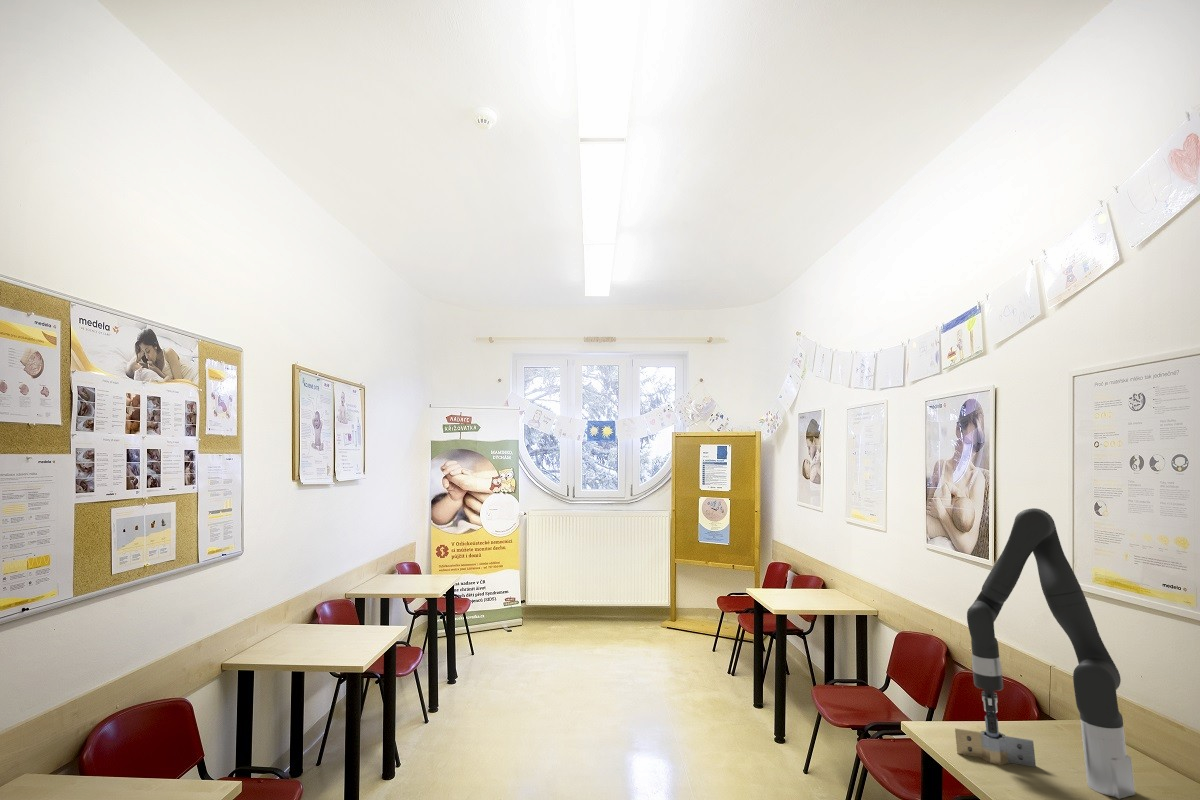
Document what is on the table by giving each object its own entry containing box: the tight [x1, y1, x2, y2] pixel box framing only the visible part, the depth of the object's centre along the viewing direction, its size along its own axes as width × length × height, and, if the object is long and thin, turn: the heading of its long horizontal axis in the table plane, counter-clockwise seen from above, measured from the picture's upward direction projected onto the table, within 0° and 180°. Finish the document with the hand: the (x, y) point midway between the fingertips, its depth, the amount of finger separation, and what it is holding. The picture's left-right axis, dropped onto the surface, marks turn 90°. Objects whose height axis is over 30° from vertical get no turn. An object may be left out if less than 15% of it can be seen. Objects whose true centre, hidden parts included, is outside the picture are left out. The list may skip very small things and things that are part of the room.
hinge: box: [954, 727, 1037, 768], centre depth 188 cm, size 20×6×7 cm, turn 60°
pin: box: [984, 715, 999, 738], centre depth 189 cm, size 3×3×12 cm
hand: (992, 727), depth 189 cm, fingers open, 8 cm apart
